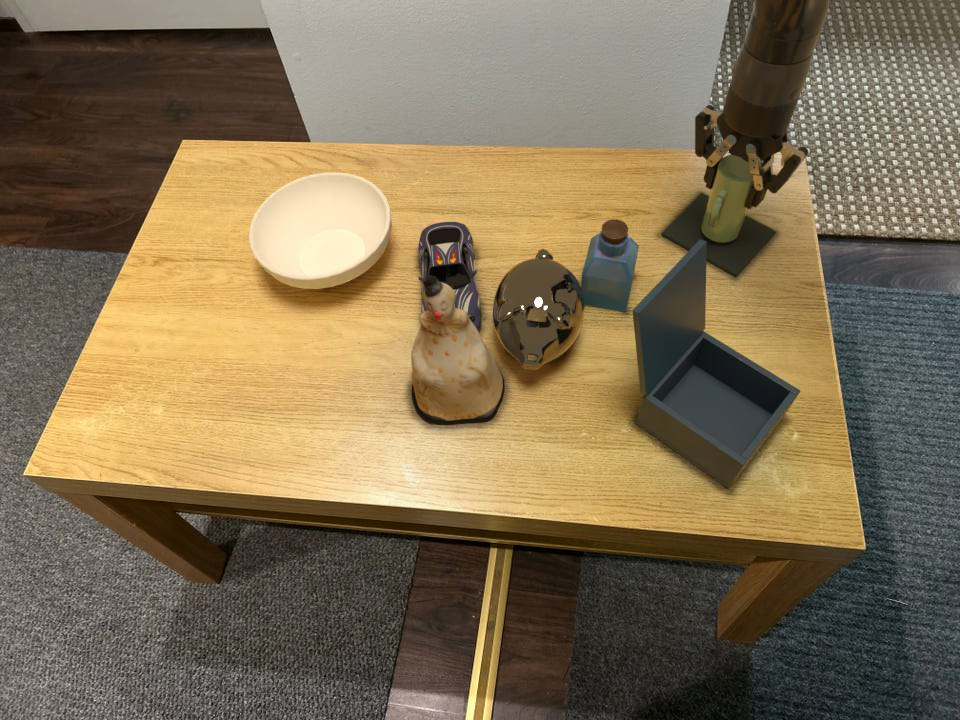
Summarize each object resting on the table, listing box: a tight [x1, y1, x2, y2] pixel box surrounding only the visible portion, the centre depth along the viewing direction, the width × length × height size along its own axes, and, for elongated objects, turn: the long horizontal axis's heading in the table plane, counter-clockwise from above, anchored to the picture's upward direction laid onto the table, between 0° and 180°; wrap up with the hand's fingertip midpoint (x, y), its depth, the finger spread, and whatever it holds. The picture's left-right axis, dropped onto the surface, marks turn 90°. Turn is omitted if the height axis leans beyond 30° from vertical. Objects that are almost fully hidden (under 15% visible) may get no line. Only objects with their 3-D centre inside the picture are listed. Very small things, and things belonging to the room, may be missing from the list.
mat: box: [660, 192, 777, 278], centre depth 96 cm, size 12×10×1 cm
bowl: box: [248, 171, 393, 290], centre depth 97 cm, size 20×20×7 cm
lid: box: [632, 239, 707, 396], centre depth 73 cm, size 13×12×1 cm
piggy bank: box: [492, 248, 585, 371], centre depth 85 cm, size 11×15×12 cm
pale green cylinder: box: [701, 154, 754, 243], centre depth 90 cm, size 5×7×11 cm
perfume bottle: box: [580, 218, 640, 313], centre depth 88 cm, size 6×6×12 cm
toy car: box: [418, 221, 482, 333], centre depth 93 cm, size 8×18×5 cm, turn 5°
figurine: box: [410, 275, 506, 426], centre depth 78 cm, size 12×10×20 cm
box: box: [635, 330, 801, 489], centre depth 79 cm, size 13×12×7 cm
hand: (731, 194), depth 90 cm, fingers closed on pale green cylinder, 5 cm apart
